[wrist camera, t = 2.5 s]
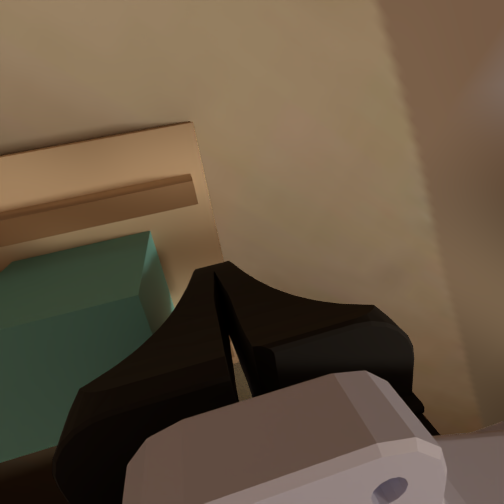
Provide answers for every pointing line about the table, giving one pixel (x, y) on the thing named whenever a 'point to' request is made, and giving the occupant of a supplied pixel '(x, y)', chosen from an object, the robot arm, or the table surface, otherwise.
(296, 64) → the table surface
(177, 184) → the channel board
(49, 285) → the teal block
